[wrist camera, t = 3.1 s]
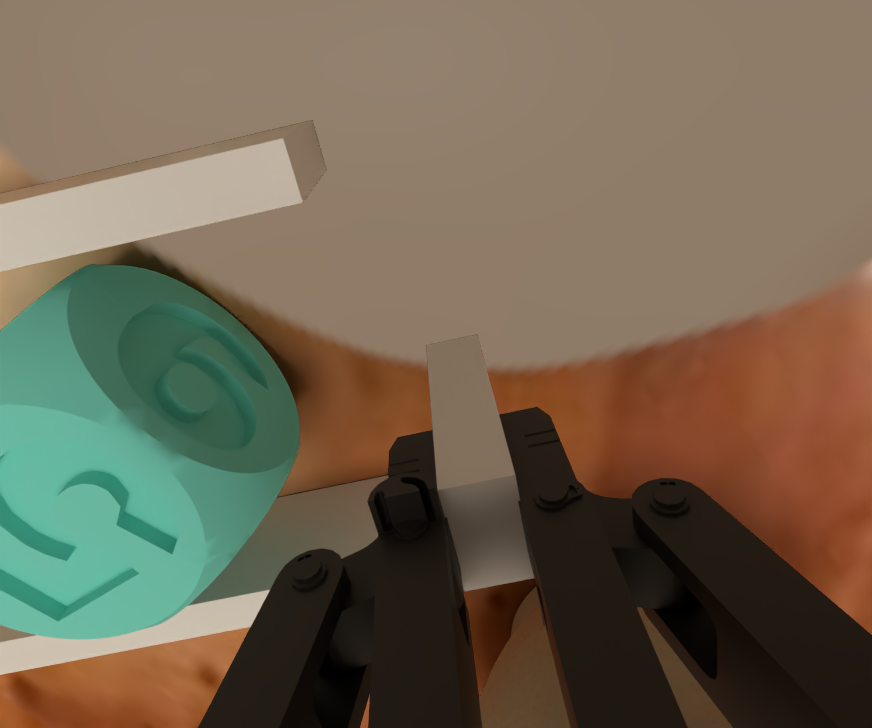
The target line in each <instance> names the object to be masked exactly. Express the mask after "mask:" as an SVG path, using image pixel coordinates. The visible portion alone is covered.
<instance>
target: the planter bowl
mask: <svg viewBox="0 0 872 728" xmlns="http://www.w3.org/2000/svg"><path fill="white" fill-rule="evenodd" d="M637 609H638V612H639V614H640V616H641V619H642V621H643V623H644V626H645V628H646V630H647V633H648V635H649V637H650V640H651V642H652V644H653V647H654V649H655V652H656V654H657V656H658V659H659V661H660V663H661V666H662V668H663V670H664V673H665V675H666V677H667V680H668V682H669V684H670V687H671V689H672V692H673V694H674V696H675V699H676V701H677V703H678V706H679V708H680V710H681V713H682V715H683V717H684V720H685V722H686V724H687V727H688V728H733V727H732V726H731V724H730V723H729V722H728V721H727V719H726V718H725V717H724V715H723V714H722V713H721V711H720V710H719V709H718V708H717V706H716V705H715V704H714V702H713V701H712V700H711V699H710V697H709V696H708V695H707V693H706V692H705V691H704V690H703V688H702V687H701V686H700V684H699V683H698V682H697V681H696V679H695V678H694V677H693V675H692V674H691V673H690V672H689V670H688V669H687V668H686V666H685V665H684V664H683V662H682V661H681V660H680V659H679V657H678V656H677V655H676V653H675V652H674V651H673V650H672V648H671V647H670V646H669V644H668V643H667V642H666V641H665V639H664V638H663V637H662V635H661V634H660V633H659V632H658V630H657V629H656V628H655V626H654V625H653V624H652V623H651V621H650V620H649V619H648V617H647V616H646V615H645V613H644V611H643V609H642V607H637ZM479 704H480V712H481V720H482V728H570V724H569V720H568V716H567V712H566V708H565V704H564V700H563V696H562V692H561V688H560V684H559V680H558V676H557V672H556V667H555V663H554V659H553V655H552V651H551V647H550V643H549V639H548V635H547V631H546V627H545V625H543V620H542V615H541V609H540V604H539V599H538V594H537V589H536V587H535V588H534V589H533V590H532V591H531V592H530V593H529V594H528V595H527V596H526V598H525V599H524V600H523V602H522V603H521V605H520V607H519V608H518V610H517V612H516V614H515V617H514V621H513V624H512V630H511V638H510V639H509V640H508V642H507V643H506V645H505V647H504V648H503V650H502V652H501V653H500V655H499V657H498V659H497V660H496V662H495V664H494V666H493V668H492V670H491V672H490V674H489V676H488V678H487V681H486V683H485V686H484V688H483V691H482V693H481V696H480V698H479Z"/></svg>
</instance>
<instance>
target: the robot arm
mask: <svg viewBox="0 0 872 728" xmlns="http://www.w3.org/2000/svg"><path fill="white" fill-rule="evenodd" d="M426 352H427V365H428V377H429V390H430V403H431V415H432V428H433V430H431V431H426V432H421V433H416V434H412V435H407V436H402V437H398V438H397V439H396V441H395V442H394V444H393V446H392V447H391V449H390V450H389V468H388V477H389V478H387V479H386V480H384V481H383V482H381V483H379V484H378V485H377V486H376V487H375V488H374V489H373V490H372V491H371V493H370V495H369V498H368V501H367V502H368V505H369V508H370V511H371V514H372V517H373V520H374V523H375V526H376V529H377V532H378V537H377V538H376V539H375V540H374V541H373V542H372V543H371V544H369V545H368V546H367V547H365V548H363V549H361V550H359V551H357V552H355V553H353V554H351V555H349V556H347V557H344V558H342V559H341V557H340V555H339V554H337V553H336V552H334V551H333V550H329V549H323V548H320V549H314V550H309V551H307V552H304V553H302V554H300V555H298V556H296V557H295V558H293V559H292V560H291V561H289V562H288V563H287V564H286V565H285V566H284V567H283V569H282V570H281V571H280V573H279V574H278V575H277V577H276V579H275V581H274V583H273V585H272V587H271V589H270V591H269V593H268V595H267V597H266V599H265V600H264V602H263V604H262V606H261V608H260V610H259V612H258V614H257V616H256V618H255V620H254V622H253V623H252V625H251V627H250V629H249V631H248V633H247V635H246V637H245V639H244V641H243V643H242V645H241V646H240V648H239V650H238V652H237V654H236V656H235V658H234V660H233V662H232V664H231V666H230V668H229V669H228V671H227V673H226V675H225V677H224V679H223V681H222V683H221V685H220V687H219V689H218V691H217V693H216V694H215V696H214V698H213V700H212V702H211V704H210V706H209V708H208V710H207V712H206V714H205V716H204V717H203V719H202V721H201V723H200V725H199V727H198V728H360V725H361V722H362V718H363V715H364V711H365V708H366V705H367V701H368V698H369V694H370V705H369V725H368V728H482V720H481V712H480V704H479V696H478V687H477V679H476V671H475V663H474V654H473V646H472V638H471V630H470V621H469V613H468V609H467V606H466V602H465V598H464V593H463V588H464V591H471V590H476V589H481V588H486V587H491V586H496V585H502V584H507V583H512V582H517V581H522V580H527V579H533V578H534V579H535V583H536V589H537V594H538V599H539V604H540V609H541V615H542V620H543V625H545V627H546V631H547V635H548V639H549V643H550V647H551V651H552V655H553V659H554V663H555V667H556V672H557V676H558V680H559V684H560V688H561V692H562V696H563V700H564V704H565V708H566V712H567V716H568V720H569V724H570V728H688V727H687V724H686V722H685V720H684V717H683V715H682V713H681V710H680V708H679V706H678V703H677V701H676V699H675V696H674V694H673V692H672V689H671V687H670V684H669V682H668V680H667V677H666V675H665V673H664V670H663V668H662V666H661V663H660V661H659V659H658V656H657V654H656V652H655V649H654V647H653V644H652V642H651V640H650V637H649V635H648V633H647V630H646V628H645V626H644V623H643V621H642V619H641V616H640V614H639V612H638V609H637V607H642V609H643V611H644V613H645V615H646V616H647V617H648V619H649V620H650V621H651V623H652V624H653V625H654V626H655V628H656V629H657V630H658V632H659V633H660V634H661V635H662V637H663V638H664V639H665V641H666V642H667V643H668V644H669V646H670V647H671V648H672V650H673V651H674V652H675V653H676V655H677V656H678V657H679V659H680V660H681V661H682V662H683V664H684V665H685V666H686V668H687V669H688V670H689V672H690V673H691V674H692V675H693V677H694V678H695V679H696V681H697V682H698V683H699V684H700V686H701V687H702V688H703V690H704V691H705V692H706V693H707V695H708V696H709V697H710V699H711V700H712V701H713V702H714V704H715V705H716V706H717V708H718V709H719V710H720V711H721V713H722V714H723V715H724V717H725V718H726V719H727V721H728V722H729V723H730V724H731V726H732V727H733V728H872V635H871V634H870V633H869V632H867V631H866V630H865V629H864V628H863V627H862V626H860V625H859V624H858V623H857V622H856V621H855V620H853V619H852V618H851V617H850V616H849V615H848V614H846V613H845V612H844V611H843V610H842V609H841V608H839V607H838V606H837V605H836V604H835V603H834V602H832V601H831V600H830V599H829V598H828V597H827V596H825V595H824V594H823V593H822V592H821V591H819V590H818V589H817V588H816V587H815V586H814V585H812V584H811V583H810V582H809V581H808V580H807V579H805V578H804V577H803V576H802V575H801V574H800V573H798V572H797V571H796V570H795V569H794V568H793V567H791V566H790V565H789V564H788V563H787V562H786V561H784V560H783V559H782V558H781V557H780V556H779V555H777V554H776V553H775V552H774V551H773V550H772V549H770V548H769V547H768V546H767V545H766V544H765V543H763V542H762V541H761V540H760V539H759V538H757V537H756V536H755V535H754V534H753V533H752V532H750V531H749V530H748V529H747V528H746V527H745V526H743V525H742V524H741V523H740V522H739V521H738V520H736V519H735V518H734V517H733V516H732V515H731V514H729V513H728V512H727V511H726V510H725V509H724V508H722V507H721V506H720V505H719V504H718V503H717V502H715V501H714V500H713V499H712V498H711V497H710V496H708V495H707V494H706V493H705V492H704V491H703V490H701V489H700V488H698V487H697V486H695V485H693V484H692V483H690V482H686V481H683V480H679V479H670V478H660V479H656V480H652V481H648V482H646V483H644V484H643V485H641V486H639V487H638V488H637V489H636V491H635V492H634V494H633V495H632V499H619V498H608V497H602V496H599V495H595V494H593V493H591V492H589V491H587V490H586V489H585V488H584V486H583V485H582V484H581V483H579V482H578V481H577V479H576V477H575V475H574V472H573V470H572V468H571V465H570V463H569V460H568V458H567V456H566V453H565V451H564V448H563V446H562V443H561V442H560V439H559V436H558V434H557V431H556V429H555V427H554V424H553V422H552V419H551V417H550V416H549V415H548V414H546V413H545V412H544V411H542V410H541V409H539V408H538V407H534V408H530V409H525V410H520V411H515V412H510V413H505V414H501V415H499V413H498V409H497V405H496V402H495V398H494V394H493V391H492V387H491V383H490V380H489V376H488V372H487V369H486V365H485V361H484V358H483V354H482V350H481V347H480V343H479V339H478V336H477V334H476V335H472V336H467V337H462V338H458V339H453V340H448V341H444V342H439V343H435V344H430V345H426Z"/></svg>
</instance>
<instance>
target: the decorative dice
mask: <svg viewBox="0 0 872 728" xmlns="http://www.w3.org/2000/svg"><path fill="white" fill-rule="evenodd" d="M299 444H300V427H299V417H298V411H297V407H296V403H295V400H294V397H293V395H292V392H291V390H290V388H289V386H288V384H287V382H286V380H285V378H284V376H283V374H282V373H281V371H280V369H279V368H278V366H277V365H276V363H275V362H274V360H273V359H272V357H271V356H270V355H269V353H268V352H267V351H266V350H265V348H264V347H263V346H262V345H261V344H260V342H259V341H258V340H257V339H256V338H255V337H254V336H253V335H252V334H251V333H250V332H249V331H248V330H247V329H246V328H245V327H244V326H243V325H242V324H241V323H240V322H239V321H238V320H237V319H236V318H234V317H233V316H232V315H231V314H230V313H228V312H227V311H226V310H225V309H223V308H222V307H221V306H219V305H218V304H217V303H215V302H214V301H212V300H211V299H210V298H208V297H207V296H205V295H203V294H202V293H200V292H199V291H197V290H195V289H193V288H192V287H190V286H188V285H186V284H184V283H182V282H180V281H178V280H176V279H173V278H171V277H169V276H166V275H164V274H161V273H158V272H155V271H151V270H148V269H144V268H139V267H134V266H125V265H94V264H92V265H88V266H85V267H83V268H81V269H79V270H78V271H76V272H74V273H73V274H71V275H70V276H68V277H67V278H65V279H64V280H62V281H61V282H60V283H58V284H57V285H56V286H54V287H53V288H52V289H50V290H49V291H48V292H46V293H45V294H44V295H42V296H41V297H40V298H39V299H37V300H36V301H35V302H34V303H32V304H31V305H30V306H29V307H28V308H26V309H25V310H24V311H23V312H22V313H20V314H19V315H18V316H17V317H16V318H14V319H13V320H12V321H11V322H10V323H9V324H8V325H6V326H5V327H4V328H3V329H2V330H1V331H0V625H2V626H5V627H8V628H11V629H14V630H18V631H22V632H26V633H30V634H34V635H39V636H45V637H52V638H61V639H100V638H108V637H115V636H120V635H124V634H128V633H132V632H135V631H139V630H142V629H146V628H149V627H153V626H156V625H159V624H161V623H163V622H165V621H167V620H169V619H170V618H172V617H173V616H175V615H176V614H178V613H179V612H180V611H181V610H183V609H184V608H185V607H186V606H188V605H189V604H190V603H191V602H192V601H193V600H194V599H196V598H197V597H198V596H199V595H200V594H201V593H202V592H203V591H204V590H205V589H206V588H207V587H208V586H209V585H210V584H211V583H212V582H213V581H214V580H215V579H216V578H217V576H218V575H219V574H220V573H221V572H222V571H223V570H224V569H225V568H226V566H227V565H228V564H229V563H230V562H231V560H232V559H233V558H234V557H235V556H236V554H237V553H238V552H239V551H240V549H241V548H242V547H243V546H244V544H245V543H246V542H247V540H248V539H249V538H250V536H251V535H252V534H253V532H254V531H255V530H256V528H257V527H258V525H259V524H260V522H261V521H262V519H263V518H264V516H265V515H266V513H267V512H268V510H269V509H270V507H271V506H272V504H273V502H274V501H275V499H276V497H277V496H278V494H279V492H280V490H281V489H282V487H283V485H284V483H285V481H286V479H287V477H288V475H289V473H290V471H291V469H292V466H293V464H294V461H295V459H296V456H297V452H298V449H299Z"/></svg>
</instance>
